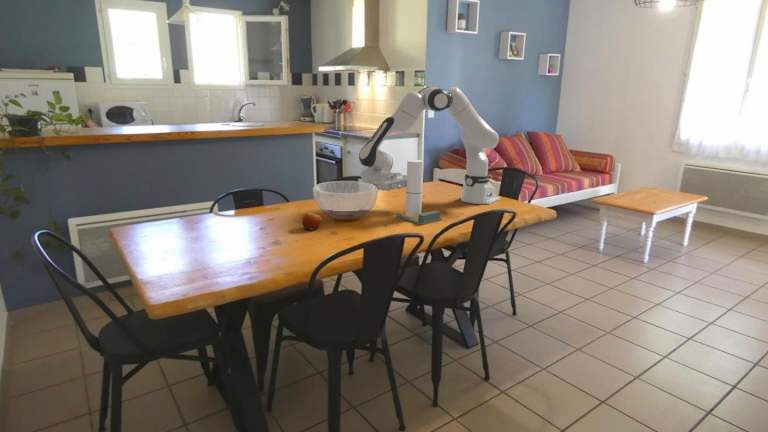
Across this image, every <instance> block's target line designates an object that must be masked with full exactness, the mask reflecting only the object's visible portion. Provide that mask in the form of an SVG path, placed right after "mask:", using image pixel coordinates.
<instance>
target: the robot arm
mask: <svg viewBox="0 0 768 432" xmlns="http://www.w3.org/2000/svg"><path fill="white" fill-rule="evenodd" d="M424 110H428V111H433V112H437V113H438V112H442V111H444V110H447V112H448V113H449V114H450V116H451V118H452V119H453V120H454V122H455V123H456V125H457V126H458V128H460V129H461V130H462V133H461V135H460V136H461V141H462V143H463V144H464V149H465V157H466V168H465V175H464V183H463V184H462V190H461V195H460V196H459V198H460V200H461V202H464V203H467V204H468V203H469V204H475V205H490V204H493V203H495V202H498V201H499V200H501V198H500V197H499V196H497V195H496V194H497V189H496V188H495V187H494V186H493V185H492V184H491V183H490V180H492V178H493V176H492V175H491V174H488V173H489V159H488V157H487V155H486V151H487V150H493V149H494V148H496V147H497V146H498V144H499V142H500V136H499V134H498V133H497V131H495V129H493V128H492V127H491V126H490V125H489V124H488V123H487V122H486V120H484V119H483V118H482V117H481V116H480V115H479V114H478V112H477V111H476V110H475V108H474V106H473V105H472V104H471V102H470V100H469V99H468V97H467V96H466V95H465V94H464V93H463V91H462V90H461V89H459V87H456V86H452V87H449V88H447V89H446V90H445V89H444V88H441V87H437V86H433V87H432V86H426V87H423V89H421V90H419V91H418V92H417V91H409V92H407V93H406V94H405V96H404V97H403V98H402V100H401V101H400V102H399V105H398V106H397V108H396V110H395V111H394V112H393V114H391V115H390V116H388V117H386V118H384V120H383V121H382V123H380V125H379V126H378V127H377V129H376V131H375V132H374V133H373V135H372V136H371V138H370V139H369V140H368V142H366V144H365V145H364V146H362V148H361V149H360V150H359V154H358V159H359V163H360V164H361V165H362V166H364V167H366V168H365V169H363V170H362V171H361V175H360V178H361V181H362V182H363V183H364V184H365V183H369V184H373V185H375V186H376V187H375V188H376V189H378V190H381V191H391V190H401V189H402V188H406V187H407V174H402V173H401V172H391V171H392V168H393V165H394V160H393V159H394V158H393V157H392V155H391V154H389V153H387V152H385V151H382V150H381V149H380V147H381V145H383V142H384V141H385V140H386V138H387V137H388V136H389V135H390V134H392V133H405V132H407V131H411V130H412V129H413V127H414V126H415V124H416V122H417V121H418V119H419V117H420V114H421V113H422V112H423V111H424Z"/></svg>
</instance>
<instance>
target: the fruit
mask: <svg viewBox="0 0 768 432" xmlns="http://www.w3.org/2000/svg"><path fill="white" fill-rule="evenodd" d="M301 219H302V220H301V222H302V226H303V229H304V230H310V231H311V232H312V231H313V230H317V229H319V226H320V225H321V224H322V221H323V219H322V217H321V215H319V214H316V213H315V212H306V213H304V214H303V215H302V218H301Z"/></svg>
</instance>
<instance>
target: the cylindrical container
mask: <svg viewBox="0 0 768 432" xmlns="http://www.w3.org/2000/svg"><path fill="white" fill-rule="evenodd" d="M406 176H407V187H405V188H406V189H405V190H406V191H405V212H406V216H409V217H418V215H419V214H421V212H422V205H423V204H422V203H423V202H422V201H423V183H424V181H423V179H424V160H422V159H408V160H407V165H406Z"/></svg>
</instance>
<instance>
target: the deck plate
mask: <svg viewBox="0 0 768 432" xmlns="http://www.w3.org/2000/svg"><path fill="white" fill-rule="evenodd" d="M395 218H397V219H400V220H404V221H408V222H410V223H414V224H416V225H420V226H424V225H427V224H431V223H436V222H439V221H441V220H442V217H441V211H438V210H432V211H428V212H427V211H426V212H422V211H421V214H419V215H418V217H409V216H406V211H405V212H402V213H399V214H396V215H395Z"/></svg>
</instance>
